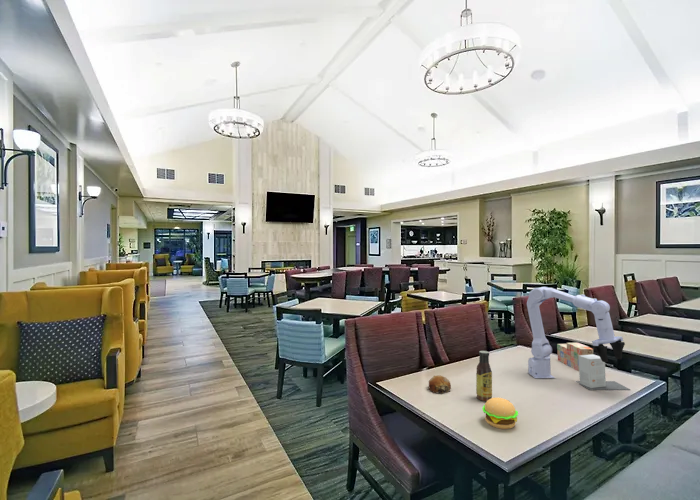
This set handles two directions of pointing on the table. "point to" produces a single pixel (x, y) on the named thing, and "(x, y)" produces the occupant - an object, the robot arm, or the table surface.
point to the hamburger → (500, 413)
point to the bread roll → (439, 384)
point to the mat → (608, 386)
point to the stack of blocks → (572, 353)
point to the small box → (592, 371)
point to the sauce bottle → (484, 377)
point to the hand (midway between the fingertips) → (612, 360)
